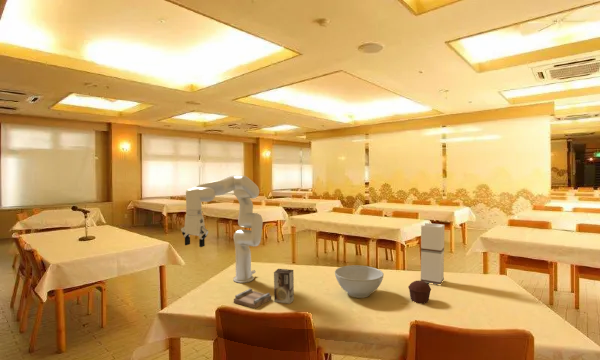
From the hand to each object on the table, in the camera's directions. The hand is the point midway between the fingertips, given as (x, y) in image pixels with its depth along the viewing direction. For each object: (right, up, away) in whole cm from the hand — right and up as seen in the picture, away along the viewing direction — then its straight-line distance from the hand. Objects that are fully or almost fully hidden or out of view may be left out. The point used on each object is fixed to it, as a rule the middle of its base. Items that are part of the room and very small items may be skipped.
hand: (194, 245), depth 174 cm
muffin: (+118, -30, +5) cm, 122 cm away
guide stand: (+29, -30, +5) cm, 42 cm away
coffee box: (+46, -30, +5) cm, 55 cm away
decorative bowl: (+87, -30, +15) cm, 93 cm away
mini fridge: (+136, -29, +34) cm, 143 cm away
